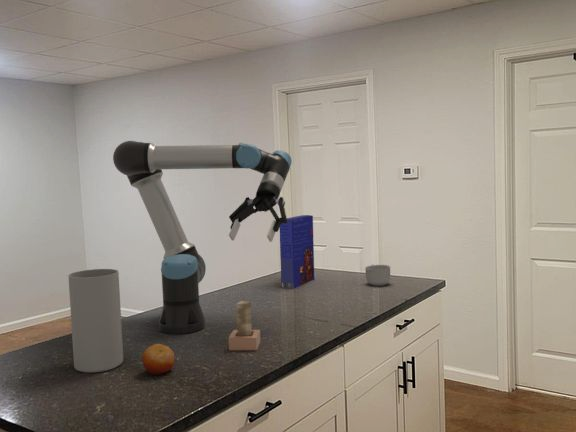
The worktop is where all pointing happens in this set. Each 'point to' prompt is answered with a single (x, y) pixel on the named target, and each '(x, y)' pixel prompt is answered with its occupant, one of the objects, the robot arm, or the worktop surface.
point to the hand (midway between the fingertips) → (249, 238)
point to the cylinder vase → (96, 320)
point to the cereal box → (297, 251)
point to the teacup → (378, 274)
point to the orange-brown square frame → (244, 341)
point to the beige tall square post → (244, 318)
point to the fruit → (158, 359)
